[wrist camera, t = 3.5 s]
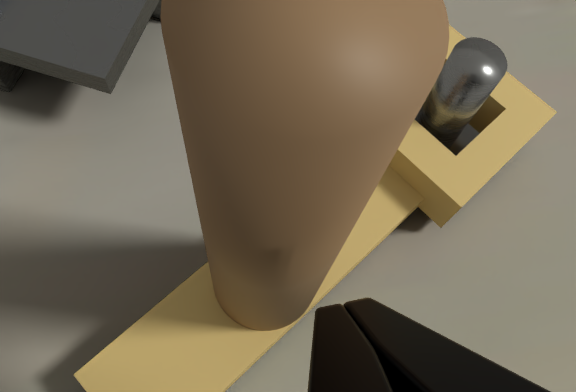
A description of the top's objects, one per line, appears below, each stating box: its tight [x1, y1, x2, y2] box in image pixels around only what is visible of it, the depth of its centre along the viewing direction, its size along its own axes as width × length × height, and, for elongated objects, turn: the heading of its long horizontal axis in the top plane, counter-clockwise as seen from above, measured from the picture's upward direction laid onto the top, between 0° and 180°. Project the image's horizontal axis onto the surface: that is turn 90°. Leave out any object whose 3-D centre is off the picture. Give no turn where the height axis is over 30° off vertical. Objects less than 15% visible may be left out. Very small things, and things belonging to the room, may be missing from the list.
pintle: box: [415, 37, 507, 156], centre depth 17 cm, size 4×4×5 cm
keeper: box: [0, 0, 162, 94], centre depth 18 cm, size 6×6×3 cm
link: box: [74, 0, 557, 392], centre depth 12 cm, size 16×5×12 cm, turn 133°
